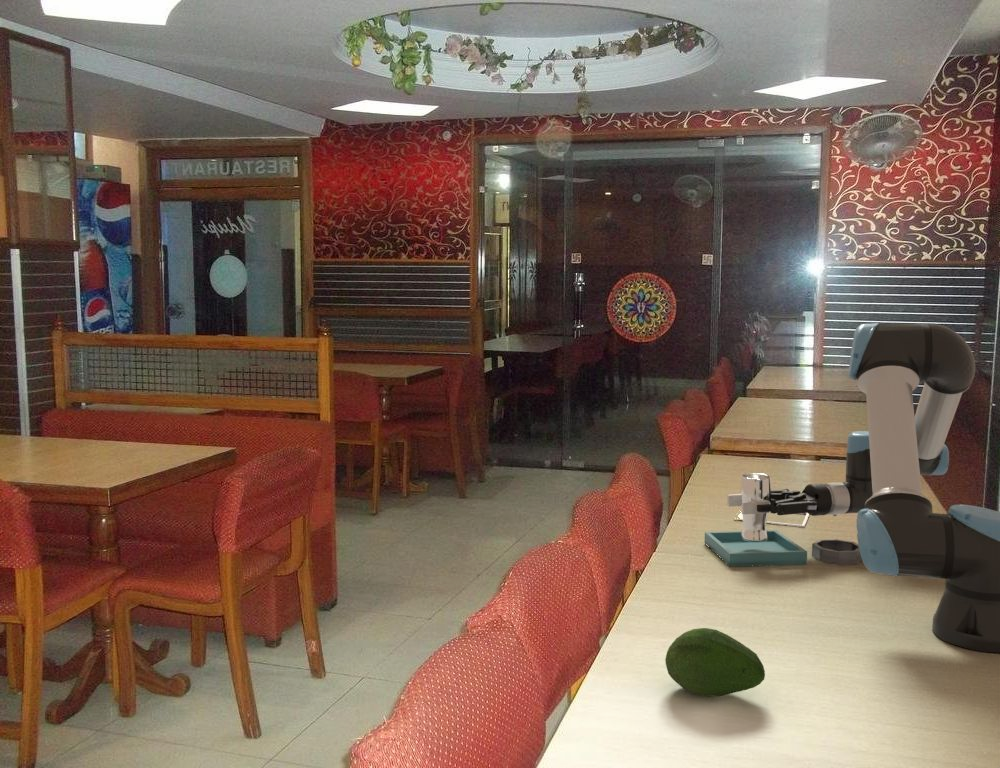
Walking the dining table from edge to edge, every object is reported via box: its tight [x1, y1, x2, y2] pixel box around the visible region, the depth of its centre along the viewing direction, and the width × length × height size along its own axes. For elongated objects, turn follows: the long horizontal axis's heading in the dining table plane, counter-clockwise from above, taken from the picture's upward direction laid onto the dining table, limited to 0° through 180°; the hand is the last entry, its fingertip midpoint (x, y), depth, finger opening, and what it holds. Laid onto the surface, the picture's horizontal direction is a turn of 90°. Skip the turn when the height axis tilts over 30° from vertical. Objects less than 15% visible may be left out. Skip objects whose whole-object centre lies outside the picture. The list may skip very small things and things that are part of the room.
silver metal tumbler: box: [739, 472, 772, 542], centre depth 218 cm, size 7×7×15 cm
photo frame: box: [734, 510, 811, 529], centre depth 252 cm, size 15×1×18 cm
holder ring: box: [811, 538, 863, 566], centre depth 216 cm, size 10×10×3 cm
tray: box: [704, 529, 808, 567], centre depth 219 cm, size 18×18×3 cm
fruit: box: [664, 627, 766, 697], centre depth 145 cm, size 15×10×10 cm, turn 65°
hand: (735, 504), depth 217 cm, fingers closed on silver metal tumbler, 7 cm apart
